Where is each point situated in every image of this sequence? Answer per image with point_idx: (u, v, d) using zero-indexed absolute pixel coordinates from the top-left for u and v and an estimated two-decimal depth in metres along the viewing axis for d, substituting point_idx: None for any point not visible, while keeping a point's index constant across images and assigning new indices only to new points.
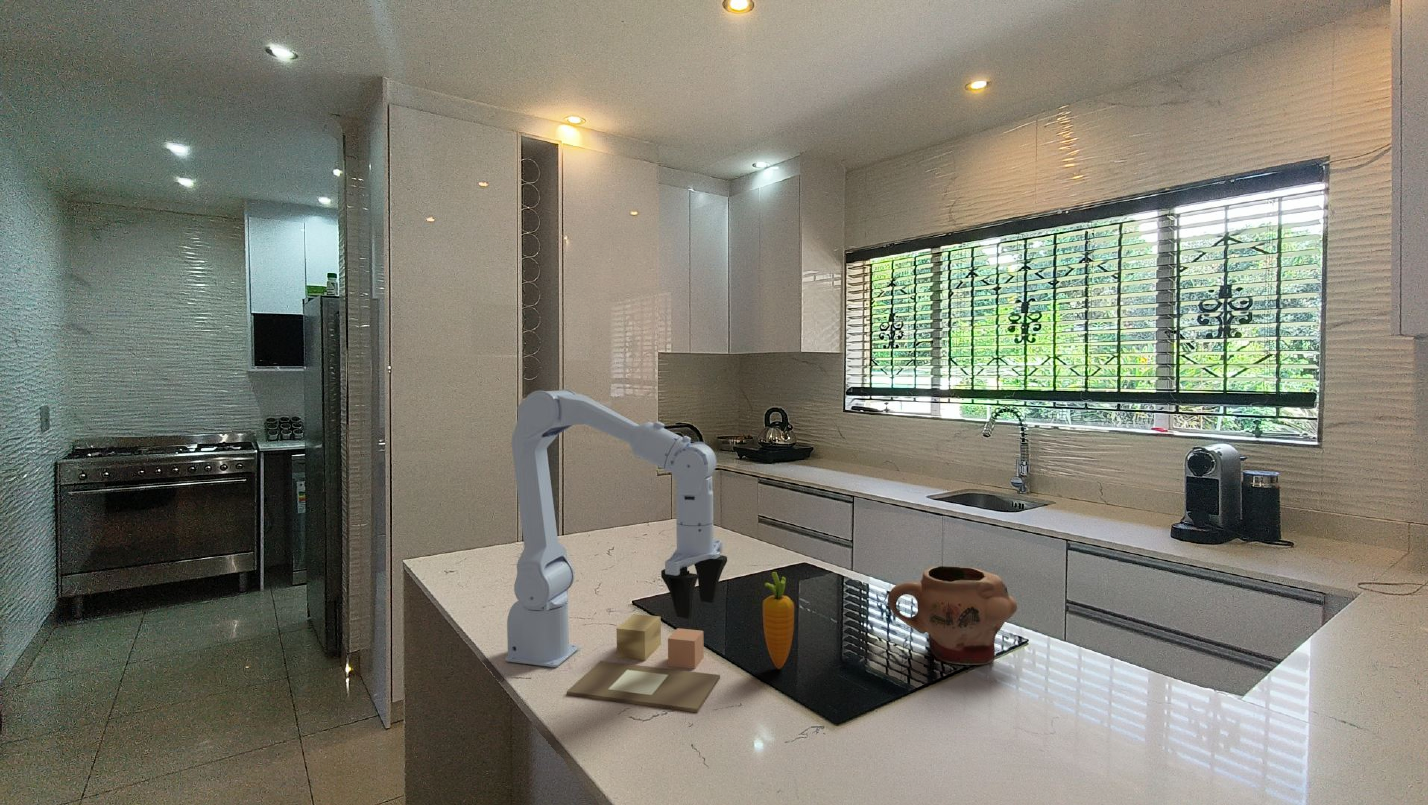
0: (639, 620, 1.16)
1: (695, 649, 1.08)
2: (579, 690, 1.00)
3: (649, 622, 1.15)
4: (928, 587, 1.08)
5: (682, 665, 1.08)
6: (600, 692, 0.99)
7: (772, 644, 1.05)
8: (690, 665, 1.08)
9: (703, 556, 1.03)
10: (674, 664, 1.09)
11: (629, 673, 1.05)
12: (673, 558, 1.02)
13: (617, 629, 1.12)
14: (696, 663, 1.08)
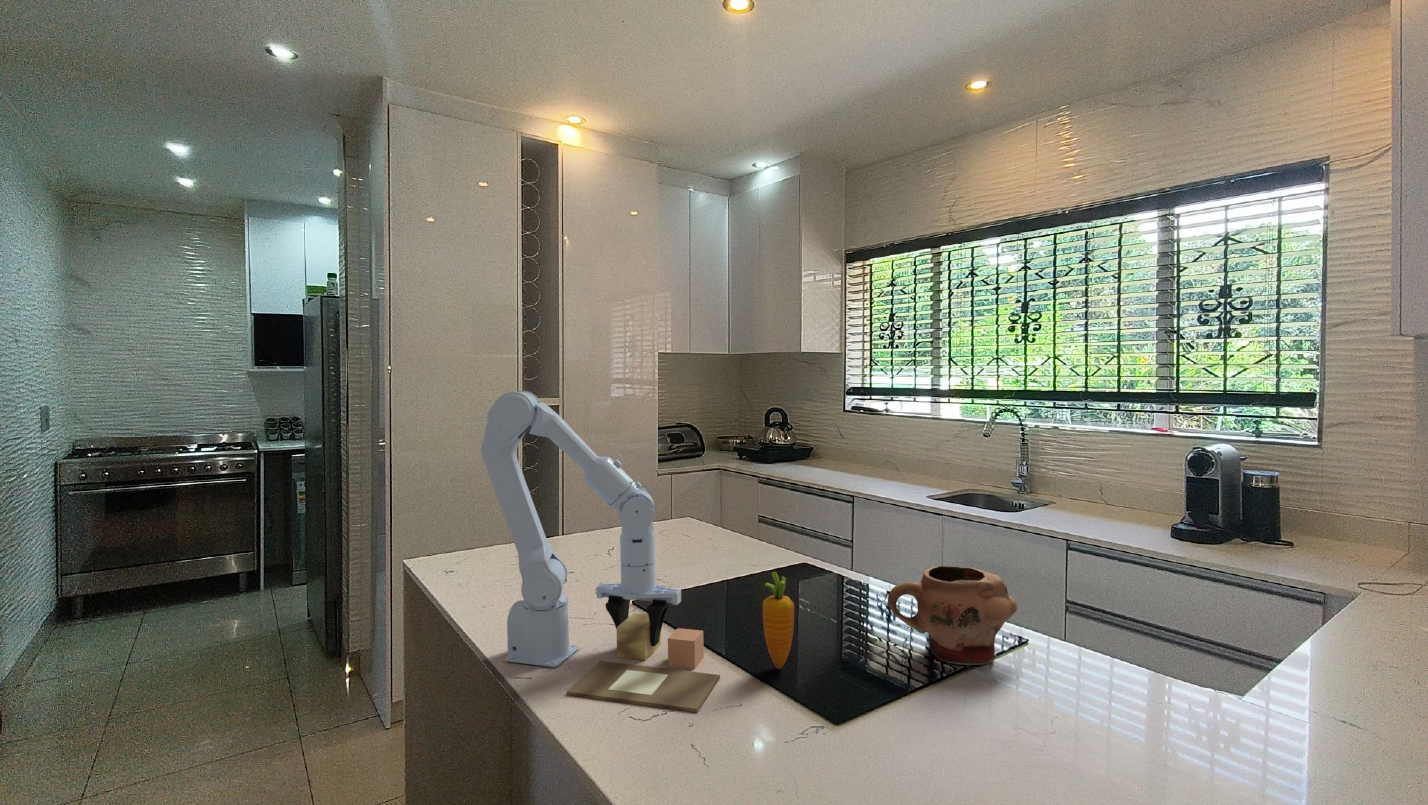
0: (639, 619, 1.16)
1: (695, 649, 1.08)
2: (579, 690, 1.00)
3: None
4: (928, 587, 1.08)
5: (682, 665, 1.08)
6: (600, 692, 0.99)
7: (772, 644, 1.05)
8: (690, 665, 1.08)
9: (621, 593, 1.13)
10: (674, 664, 1.09)
11: (629, 673, 1.05)
12: None
13: (617, 628, 1.12)
14: (696, 663, 1.08)
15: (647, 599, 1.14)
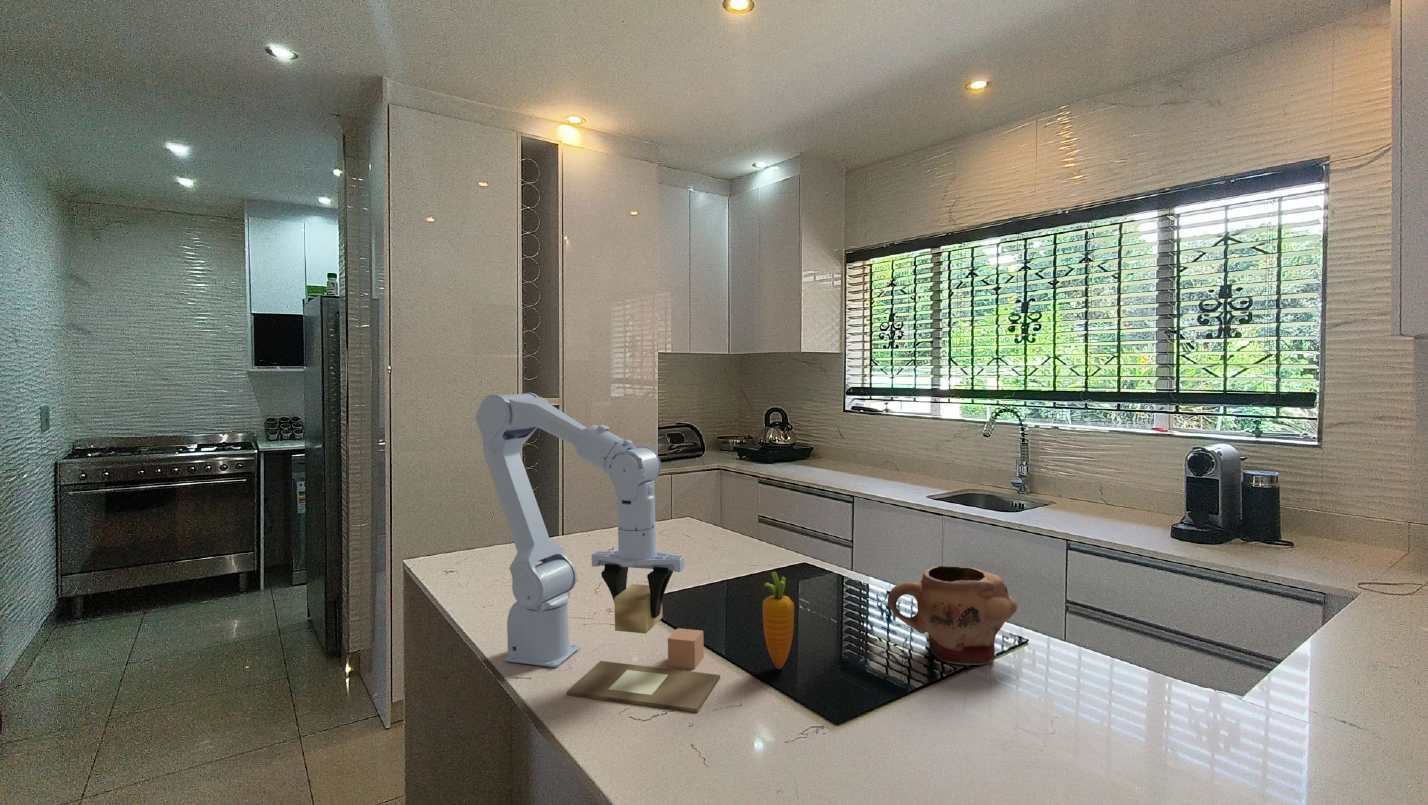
0: (639, 590, 1.06)
1: (695, 649, 1.08)
2: (579, 690, 1.00)
3: None
4: (928, 587, 1.08)
5: (682, 665, 1.08)
6: (600, 692, 0.99)
7: (772, 644, 1.05)
8: (690, 665, 1.08)
9: (618, 560, 1.03)
10: (674, 664, 1.09)
11: (629, 673, 1.05)
12: None
13: (615, 598, 1.03)
14: (696, 663, 1.08)
15: (647, 567, 1.04)
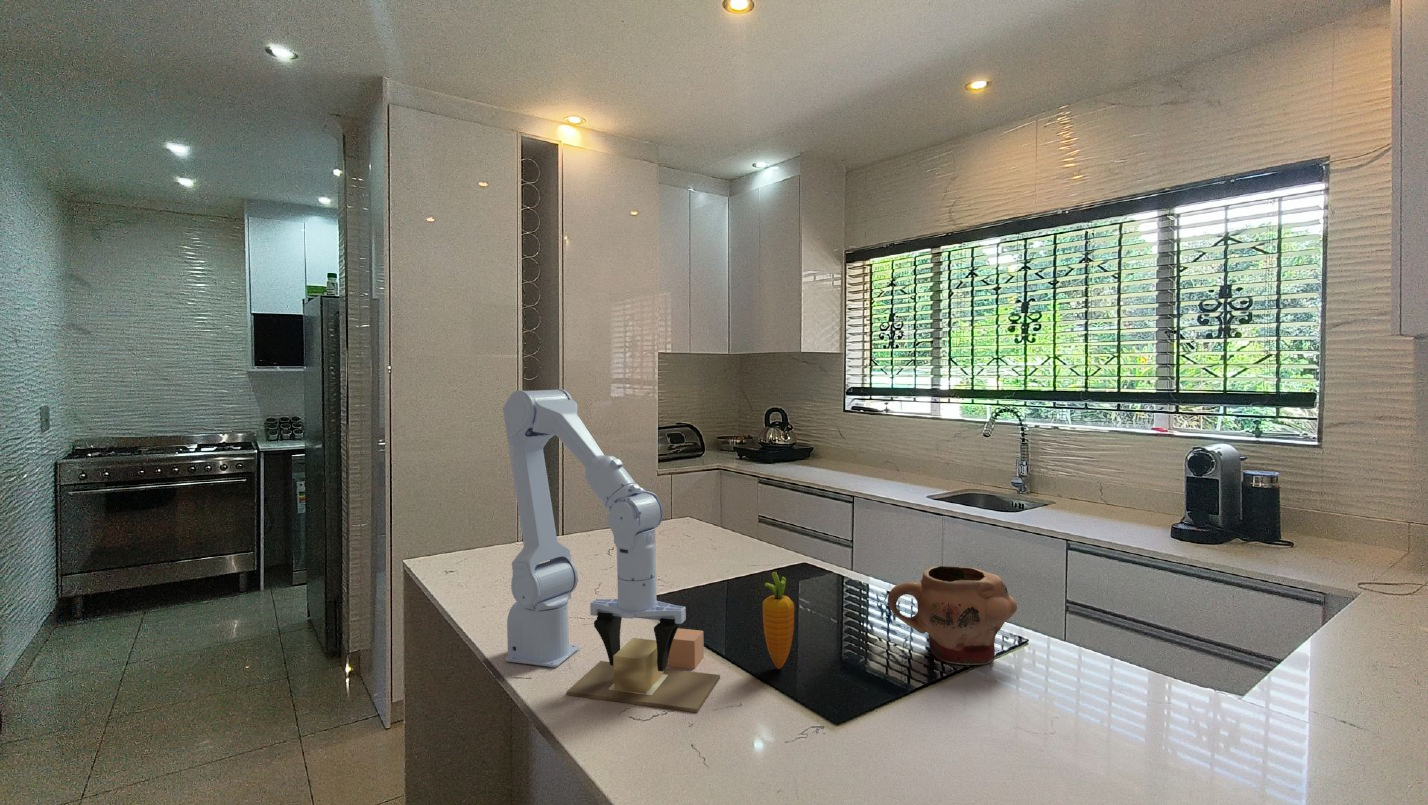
0: (639, 646, 1.03)
1: (695, 649, 1.08)
2: (579, 690, 1.00)
3: (650, 648, 1.02)
4: (928, 587, 1.08)
5: (682, 665, 1.08)
6: (600, 692, 0.99)
7: (772, 644, 1.05)
8: (690, 665, 1.08)
9: (618, 610, 1.00)
10: (674, 664, 1.09)
11: None
12: (611, 601, 1.04)
13: (614, 657, 0.99)
14: (696, 663, 1.08)
15: (647, 617, 1.01)
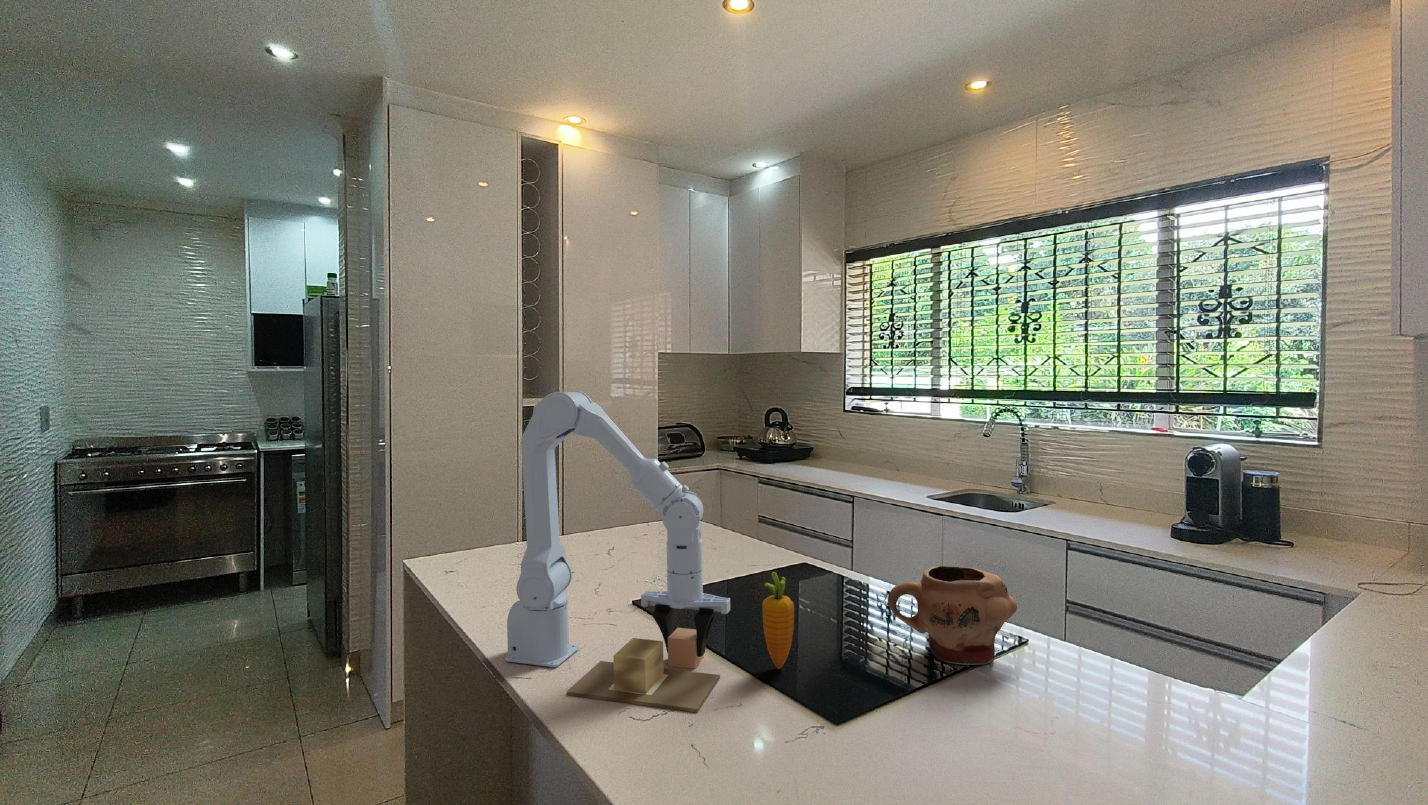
0: (639, 646, 1.03)
1: (695, 648, 1.08)
2: (579, 690, 1.00)
3: (650, 648, 1.02)
4: (928, 587, 1.08)
5: (682, 665, 1.08)
6: (600, 692, 0.99)
7: (772, 644, 1.05)
8: (690, 664, 1.08)
9: (668, 601, 1.08)
10: (674, 663, 1.09)
11: None
12: (659, 593, 1.12)
13: (614, 657, 0.99)
14: (696, 662, 1.08)
15: (695, 608, 1.09)
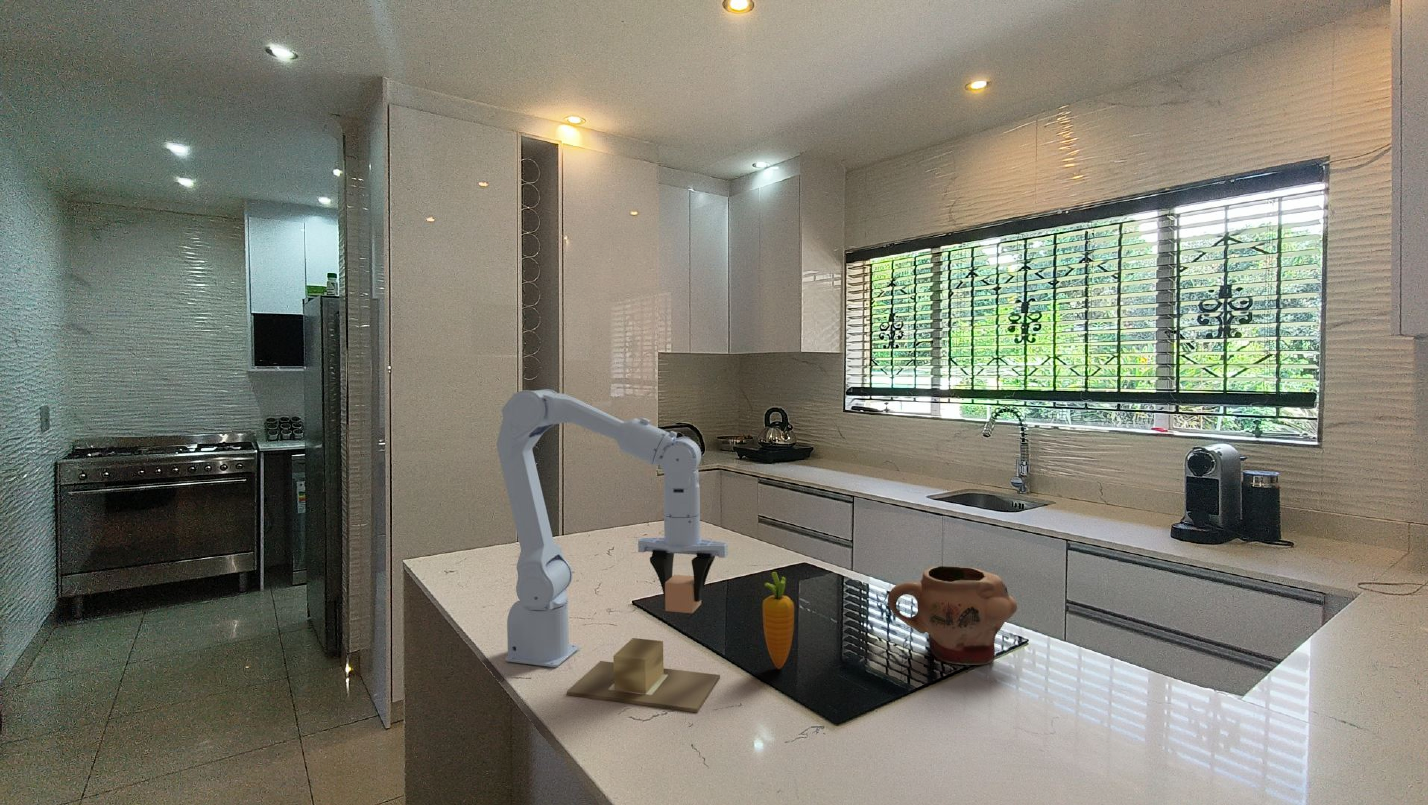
0: (639, 646, 1.03)
1: (693, 593, 1.07)
2: (579, 690, 1.00)
3: (650, 648, 1.02)
4: (928, 587, 1.08)
5: (679, 610, 1.08)
6: (600, 692, 0.99)
7: (772, 644, 1.05)
8: (687, 609, 1.07)
9: (665, 545, 1.07)
10: (671, 608, 1.08)
11: None
12: None
13: (614, 657, 0.99)
14: (693, 607, 1.08)
15: (692, 553, 1.09)
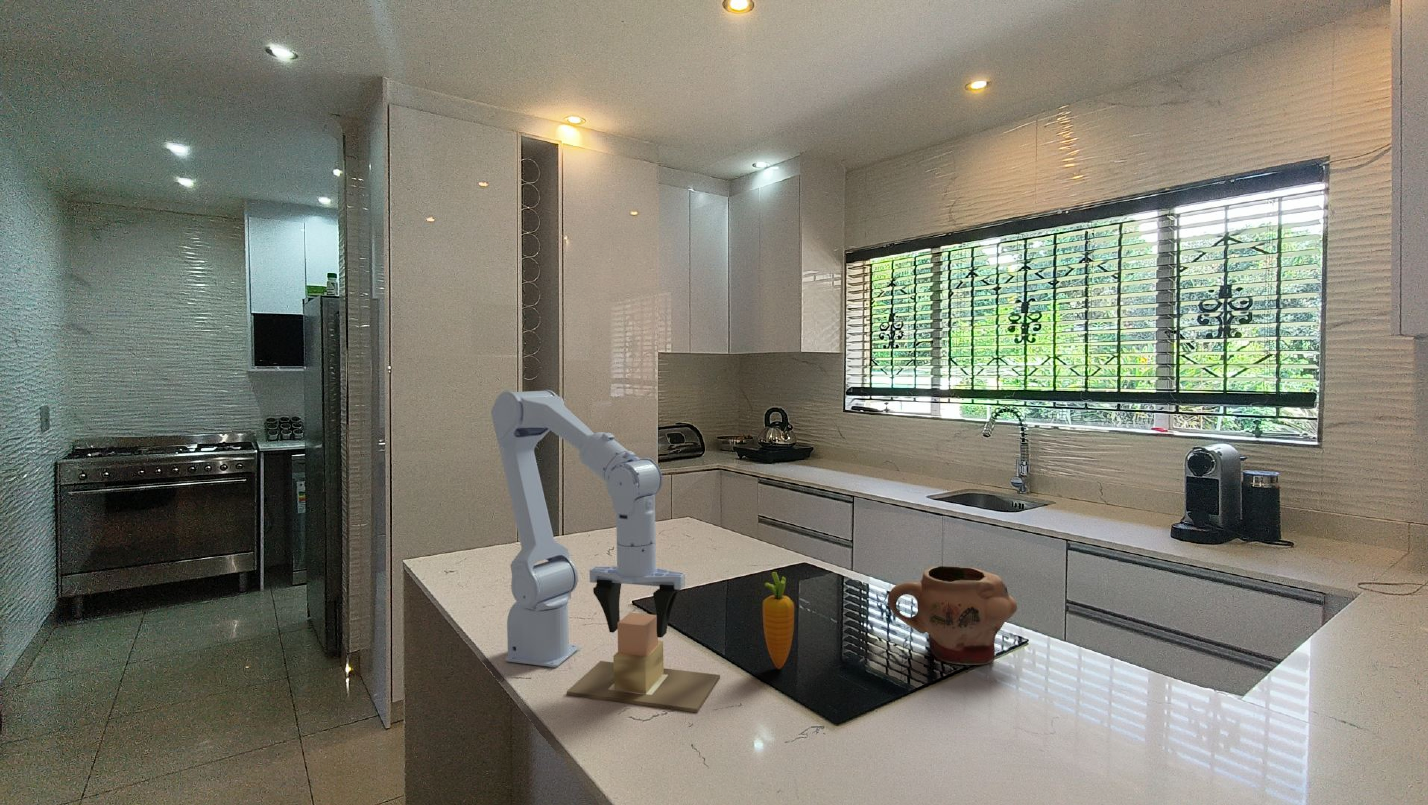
0: None
1: (647, 634, 0.99)
2: (579, 690, 1.00)
3: None
4: (928, 587, 1.08)
5: (633, 652, 1.00)
6: (600, 692, 0.99)
7: (772, 644, 1.05)
8: (641, 651, 0.99)
9: (617, 576, 0.99)
10: (624, 651, 1.00)
11: None
12: None
13: (614, 657, 0.99)
14: (648, 650, 1.00)
15: (647, 583, 1.01)
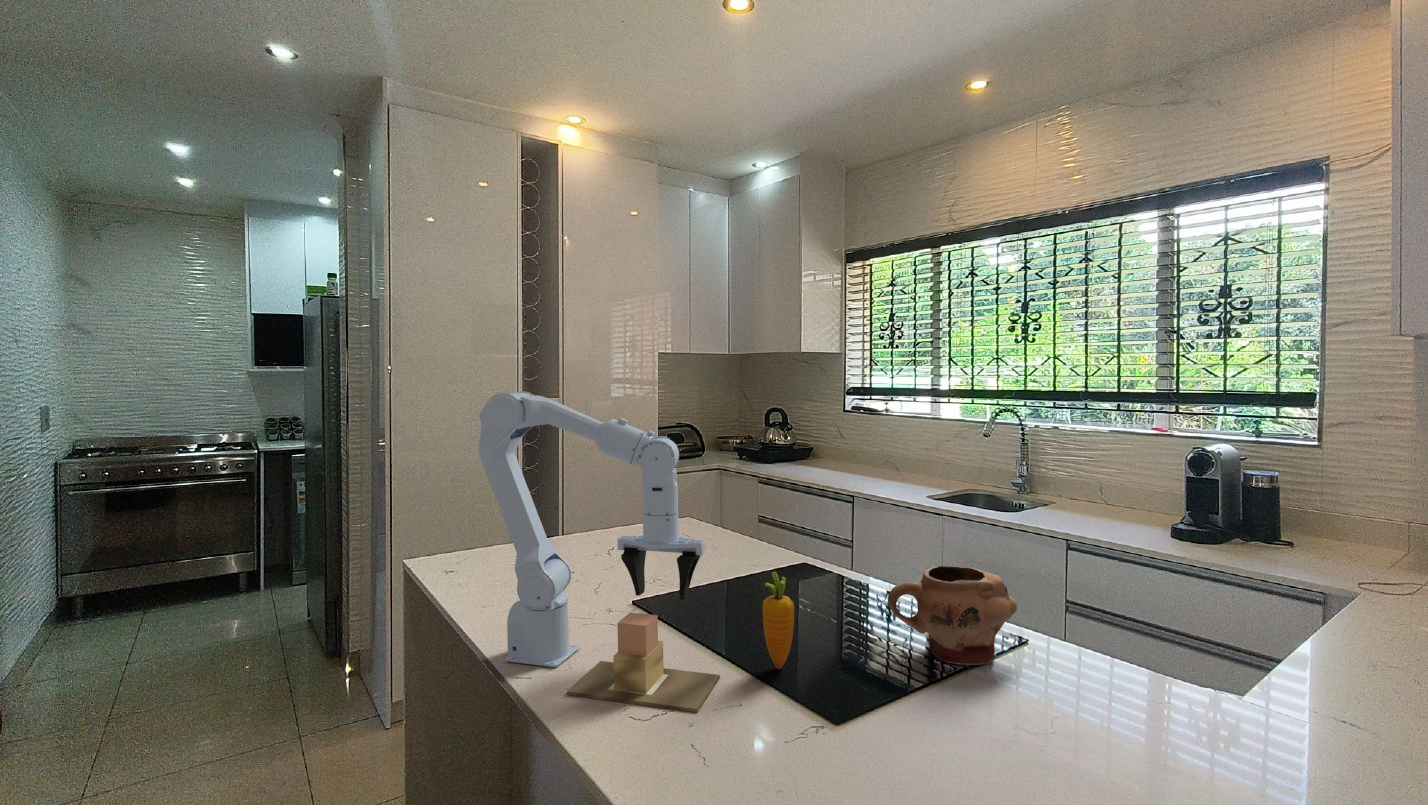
0: None
1: (647, 634, 0.99)
2: (579, 690, 1.00)
3: None
4: (928, 587, 1.08)
5: (633, 652, 1.00)
6: (600, 692, 0.99)
7: (772, 644, 1.05)
8: (641, 651, 0.99)
9: (643, 543, 1.09)
10: (624, 651, 1.00)
11: None
12: None
13: (614, 657, 0.99)
14: (648, 650, 1.00)
15: (670, 550, 1.10)
